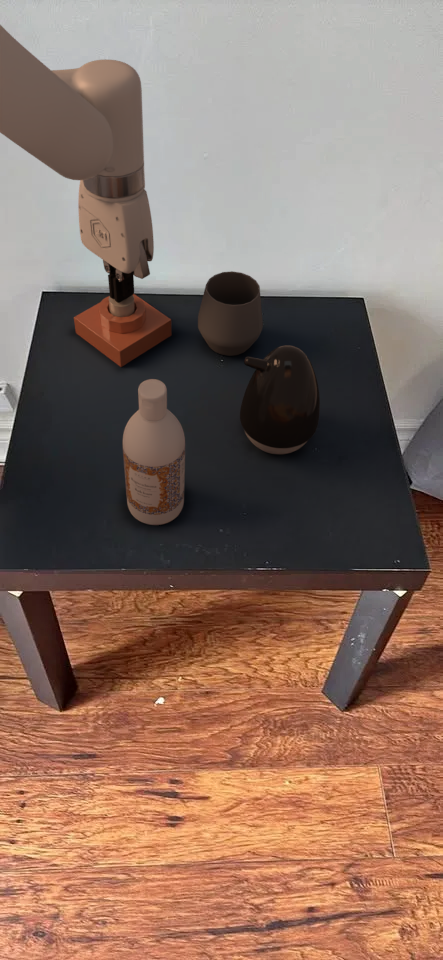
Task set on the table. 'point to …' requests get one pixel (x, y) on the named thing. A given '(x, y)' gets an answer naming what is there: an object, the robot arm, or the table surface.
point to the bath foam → (154, 458)
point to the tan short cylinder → (122, 307)
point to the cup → (230, 313)
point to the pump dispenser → (281, 401)
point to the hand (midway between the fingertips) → (122, 295)
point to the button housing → (123, 330)
